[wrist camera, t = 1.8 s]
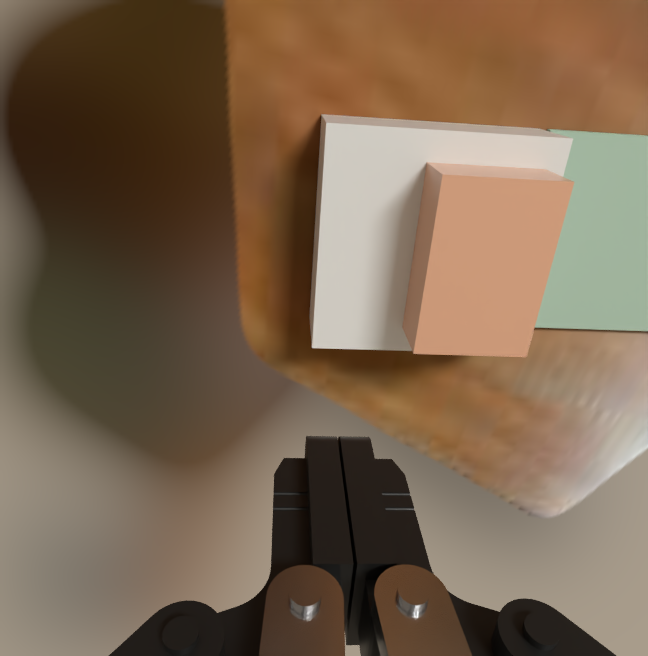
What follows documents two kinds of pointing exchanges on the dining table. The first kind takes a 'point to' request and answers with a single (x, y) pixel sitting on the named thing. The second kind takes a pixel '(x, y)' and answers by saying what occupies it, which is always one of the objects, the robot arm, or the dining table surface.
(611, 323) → the green mat
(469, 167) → the terracotta tile
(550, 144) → the block
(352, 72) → the dining table surface
